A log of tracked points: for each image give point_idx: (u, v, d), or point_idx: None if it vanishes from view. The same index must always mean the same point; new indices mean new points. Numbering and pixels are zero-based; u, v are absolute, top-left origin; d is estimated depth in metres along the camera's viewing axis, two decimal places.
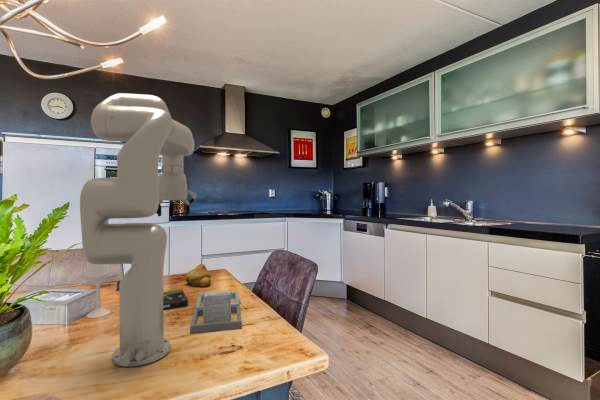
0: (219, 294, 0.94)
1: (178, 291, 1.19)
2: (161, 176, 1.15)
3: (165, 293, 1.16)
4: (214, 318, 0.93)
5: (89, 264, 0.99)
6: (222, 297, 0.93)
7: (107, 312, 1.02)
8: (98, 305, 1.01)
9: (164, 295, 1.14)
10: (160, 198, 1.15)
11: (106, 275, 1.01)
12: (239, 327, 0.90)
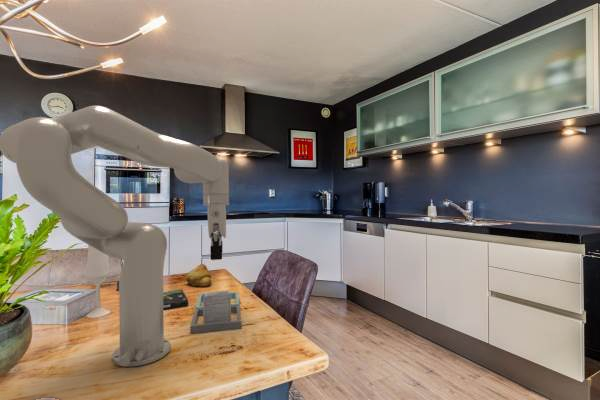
0: (219, 294, 0.94)
1: (178, 291, 1.19)
2: (224, 208, 0.92)
3: (165, 293, 1.16)
4: (214, 318, 0.93)
5: (89, 264, 0.99)
6: (222, 297, 0.93)
7: (107, 312, 1.02)
8: (98, 305, 1.01)
9: (164, 295, 1.14)
10: (225, 235, 0.91)
11: (106, 275, 1.01)
12: (239, 327, 0.90)
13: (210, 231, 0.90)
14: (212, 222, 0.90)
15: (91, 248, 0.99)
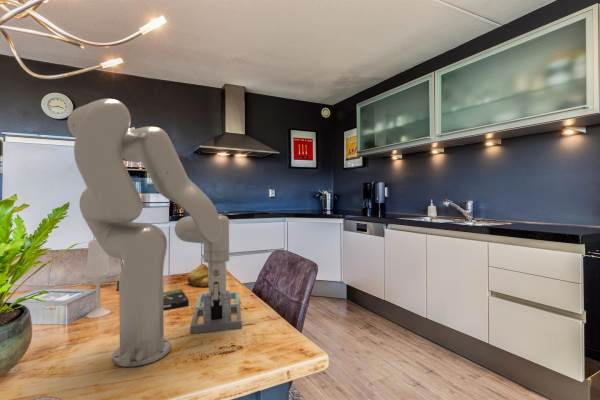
0: (219, 294, 0.94)
1: (178, 291, 1.19)
2: (224, 265, 0.92)
3: (165, 293, 1.16)
4: None
5: (89, 264, 0.99)
6: (222, 297, 0.93)
7: (107, 312, 1.02)
8: (98, 305, 1.01)
9: (164, 295, 1.14)
10: (225, 293, 0.92)
11: (106, 275, 1.01)
12: (239, 327, 0.90)
13: (210, 290, 0.90)
14: (212, 281, 0.90)
15: (91, 248, 0.99)
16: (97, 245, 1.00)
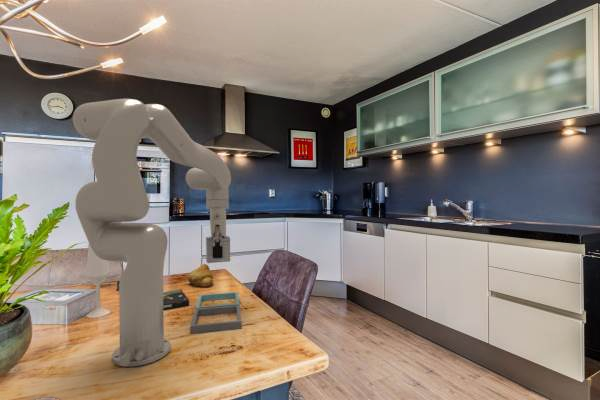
0: None
1: (177, 291, 1.19)
2: (224, 211, 1.06)
3: (164, 293, 1.16)
4: None
5: (89, 264, 0.99)
6: (222, 239, 1.08)
7: (107, 312, 1.02)
8: (98, 305, 1.01)
9: (164, 295, 1.14)
10: (225, 235, 1.06)
11: (106, 275, 1.01)
12: (239, 327, 0.90)
13: (212, 231, 1.04)
14: (214, 223, 1.04)
15: (91, 248, 0.99)
16: None
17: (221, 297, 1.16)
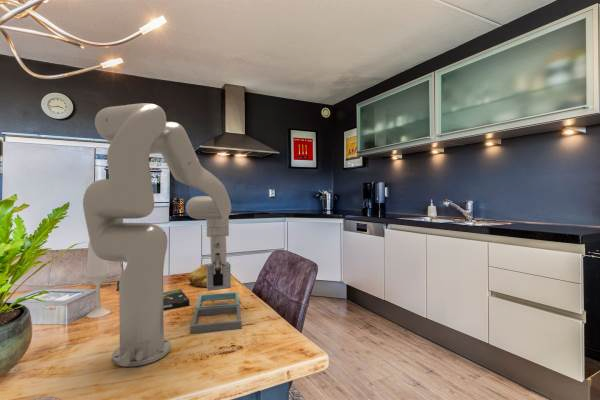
0: (220, 264, 1.09)
1: (177, 291, 1.19)
2: (224, 239, 1.06)
3: (164, 293, 1.16)
4: None
5: (89, 264, 0.99)
6: (223, 267, 1.08)
7: (107, 312, 1.02)
8: (98, 305, 1.01)
9: (164, 295, 1.14)
10: (225, 263, 1.06)
11: (106, 275, 1.01)
12: (239, 327, 0.90)
13: (212, 260, 1.04)
14: (214, 252, 1.04)
15: (91, 248, 0.99)
16: None
17: (221, 297, 1.16)
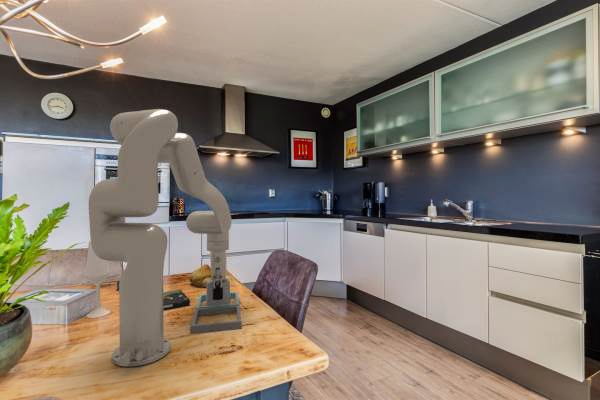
0: None
1: (177, 291, 1.19)
2: (224, 253, 1.06)
3: (164, 293, 1.16)
4: (215, 302, 1.07)
5: (89, 264, 0.99)
6: (222, 284, 1.08)
7: (107, 312, 1.02)
8: (98, 305, 1.01)
9: (164, 295, 1.14)
10: (225, 277, 1.06)
11: (106, 275, 1.01)
12: (239, 327, 0.90)
13: (212, 274, 1.04)
14: (214, 266, 1.04)
15: (91, 248, 0.99)
16: None
17: None
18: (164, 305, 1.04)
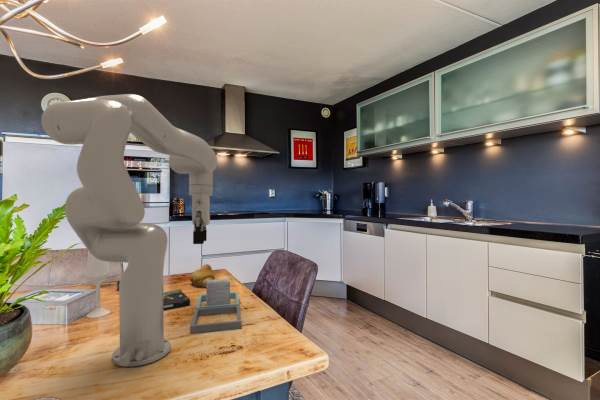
0: (220, 281, 1.08)
1: (176, 291, 1.19)
2: (207, 197, 1.01)
3: (164, 293, 1.16)
4: (215, 302, 1.07)
5: (89, 264, 0.99)
6: (222, 284, 1.08)
7: (107, 312, 1.02)
8: (98, 305, 1.01)
9: (163, 295, 1.14)
10: (207, 222, 1.01)
11: (106, 275, 1.01)
12: (239, 327, 0.90)
13: (193, 218, 0.99)
14: (195, 210, 0.99)
15: None
16: None
17: None
18: (165, 305, 1.04)
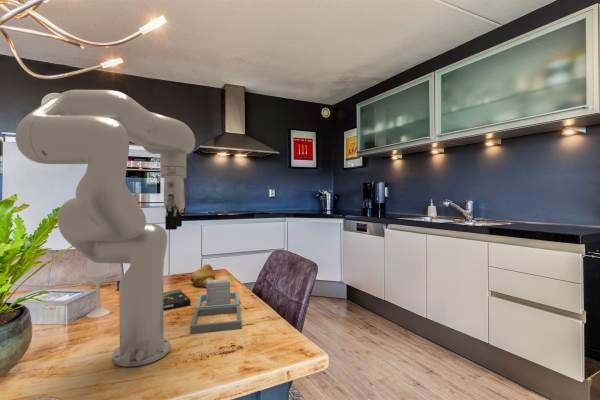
0: (220, 281, 1.08)
1: (176, 291, 1.19)
2: (180, 180, 0.94)
3: (163, 294, 1.16)
4: (215, 302, 1.07)
5: (89, 264, 0.99)
6: (222, 284, 1.08)
7: (107, 312, 1.02)
8: (98, 305, 1.01)
9: (163, 295, 1.14)
10: (181, 207, 0.94)
11: (106, 275, 1.01)
12: (239, 327, 0.90)
13: (165, 202, 0.92)
14: (167, 193, 0.92)
15: None
16: None
17: None
18: (165, 305, 1.04)
